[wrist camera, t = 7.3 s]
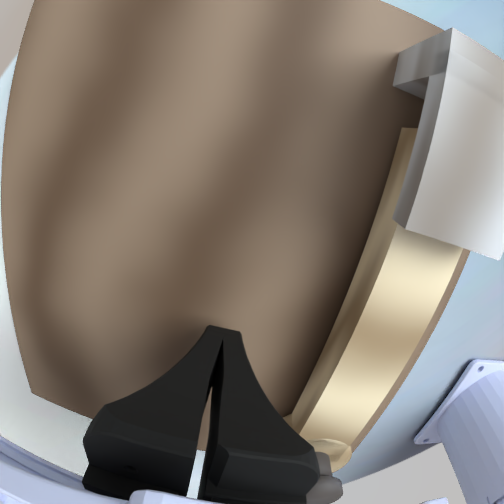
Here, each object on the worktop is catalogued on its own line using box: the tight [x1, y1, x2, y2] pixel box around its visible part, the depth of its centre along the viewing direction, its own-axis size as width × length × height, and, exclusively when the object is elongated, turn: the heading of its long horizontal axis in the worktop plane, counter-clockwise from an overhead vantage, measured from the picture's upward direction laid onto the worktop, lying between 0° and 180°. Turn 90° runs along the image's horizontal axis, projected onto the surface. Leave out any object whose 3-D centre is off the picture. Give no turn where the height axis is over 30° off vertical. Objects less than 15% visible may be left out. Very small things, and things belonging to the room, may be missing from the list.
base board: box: [1, 0, 504, 453], centre depth 12 cm, size 22×25×5 cm
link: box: [283, 128, 463, 504], centre depth 12 cm, size 18×4×4 cm, turn 166°
